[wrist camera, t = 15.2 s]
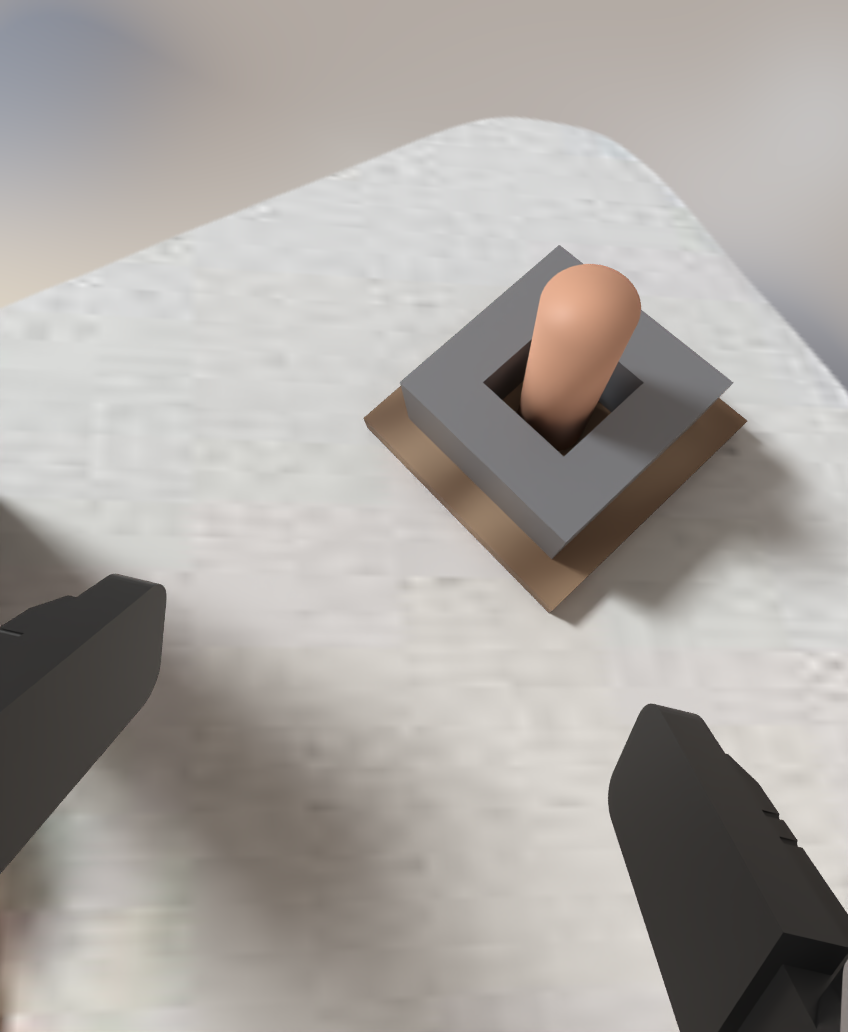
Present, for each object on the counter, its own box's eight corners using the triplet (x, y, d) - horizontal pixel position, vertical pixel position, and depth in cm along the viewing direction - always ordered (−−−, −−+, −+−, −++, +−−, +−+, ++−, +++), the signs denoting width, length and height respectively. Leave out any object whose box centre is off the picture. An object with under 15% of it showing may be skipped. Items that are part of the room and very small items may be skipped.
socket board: (367, 428, 35) (363, 418, 33) (544, 275, 37) (547, 259, 35) (548, 612, 31) (552, 610, 29) (735, 431, 33) (747, 420, 31)
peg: (502, 420, 33) (518, 308, 22) (549, 377, 33) (587, 246, 22) (551, 465, 32) (592, 370, 21) (598, 420, 32) (662, 305, 21)
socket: (408, 418, 33) (399, 382, 29) (547, 297, 34) (559, 244, 30) (551, 559, 30) (565, 542, 26) (696, 420, 32) (733, 382, 27)
